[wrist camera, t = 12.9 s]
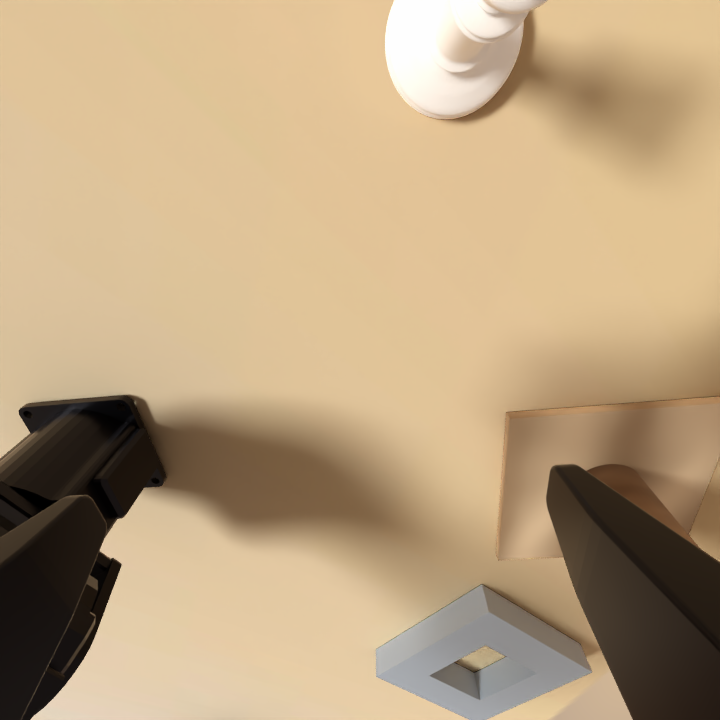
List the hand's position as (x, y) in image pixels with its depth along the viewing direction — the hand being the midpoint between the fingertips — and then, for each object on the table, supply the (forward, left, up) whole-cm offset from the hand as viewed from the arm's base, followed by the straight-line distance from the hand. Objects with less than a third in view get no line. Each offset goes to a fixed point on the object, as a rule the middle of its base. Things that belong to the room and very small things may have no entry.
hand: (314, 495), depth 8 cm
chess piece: (+5, +9, -13) cm, 17 cm away
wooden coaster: (+14, -14, -13) cm, 24 cm away
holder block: (+7, -32, -13) cm, 35 cm away
